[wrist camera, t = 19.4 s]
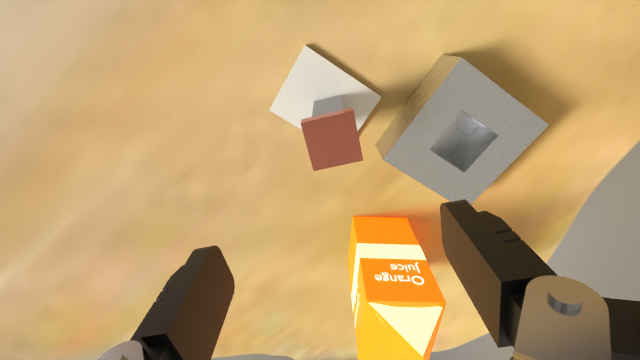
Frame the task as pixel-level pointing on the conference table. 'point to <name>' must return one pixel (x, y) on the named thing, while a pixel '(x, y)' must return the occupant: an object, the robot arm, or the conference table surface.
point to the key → (331, 134)
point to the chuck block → (458, 131)
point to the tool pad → (321, 90)
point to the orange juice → (392, 291)
